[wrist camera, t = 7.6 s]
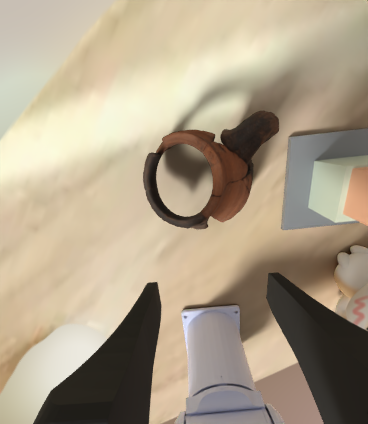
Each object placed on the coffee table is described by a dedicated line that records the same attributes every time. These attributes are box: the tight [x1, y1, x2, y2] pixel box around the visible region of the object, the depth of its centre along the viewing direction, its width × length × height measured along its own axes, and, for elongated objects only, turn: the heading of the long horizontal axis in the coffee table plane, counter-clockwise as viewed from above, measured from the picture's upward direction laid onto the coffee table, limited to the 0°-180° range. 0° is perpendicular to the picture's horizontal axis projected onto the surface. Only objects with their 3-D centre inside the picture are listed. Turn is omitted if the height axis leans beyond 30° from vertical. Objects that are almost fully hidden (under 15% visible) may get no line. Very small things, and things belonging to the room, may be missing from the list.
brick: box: [308, 155, 368, 223], centre depth 18 cm, size 5×5×4 cm
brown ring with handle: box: [143, 111, 279, 229], centre depth 17 cm, size 12×10×8 cm
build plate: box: [281, 128, 368, 230], centre depth 20 cm, size 10×10×1 cm
